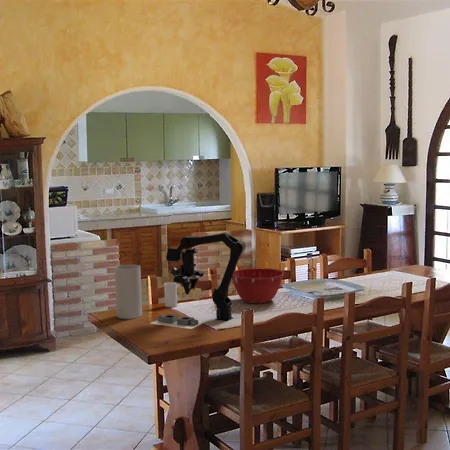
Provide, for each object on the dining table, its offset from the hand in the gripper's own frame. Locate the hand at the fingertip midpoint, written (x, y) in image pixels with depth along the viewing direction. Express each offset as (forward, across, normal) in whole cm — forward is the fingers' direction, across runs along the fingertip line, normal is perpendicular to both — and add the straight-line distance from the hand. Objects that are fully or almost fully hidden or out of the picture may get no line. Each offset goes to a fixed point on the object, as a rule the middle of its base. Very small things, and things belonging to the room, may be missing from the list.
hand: (189, 293), depth 307 cm
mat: (+12, +11, 0) cm, 16 cm away
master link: (+2, 0, 0) cm, 2 cm away
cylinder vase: (+12, +10, -29) cm, 33 cm away
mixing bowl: (+12, -45, +15) cm, 49 cm away
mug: (+12, -18, -21) cm, 30 cm away
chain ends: (+12, +11, 0) cm, 16 cm away
